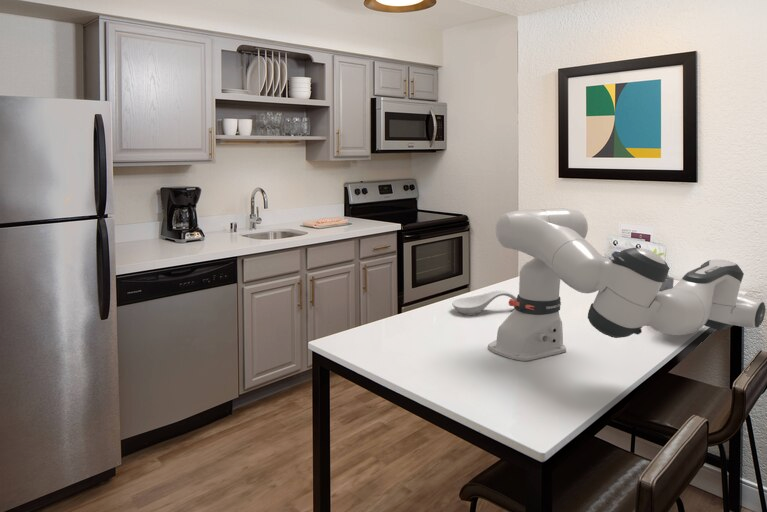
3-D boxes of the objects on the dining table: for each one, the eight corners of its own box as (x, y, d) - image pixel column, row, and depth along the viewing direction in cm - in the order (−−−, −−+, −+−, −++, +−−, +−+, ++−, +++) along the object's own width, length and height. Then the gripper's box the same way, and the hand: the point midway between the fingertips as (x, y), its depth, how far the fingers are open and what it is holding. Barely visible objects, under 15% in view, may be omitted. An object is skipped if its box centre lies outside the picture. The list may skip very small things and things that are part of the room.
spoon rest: (456, 318, 185) (456, 297, 183) (448, 308, 196) (448, 289, 195) (524, 315, 187) (525, 294, 186) (513, 305, 199) (513, 286, 197)
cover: (666, 313, 168) (670, 278, 166) (646, 308, 173) (649, 275, 171) (676, 309, 172) (680, 275, 170) (656, 305, 177) (659, 272, 175)
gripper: (679, 316, 156) (637, 305, 168) (723, 306, 165) (680, 296, 177) (681, 295, 154) (638, 284, 167) (725, 286, 164) (682, 277, 176)
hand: (660, 290), depth 172 cm, fingers closed on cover, 5 cm apart
